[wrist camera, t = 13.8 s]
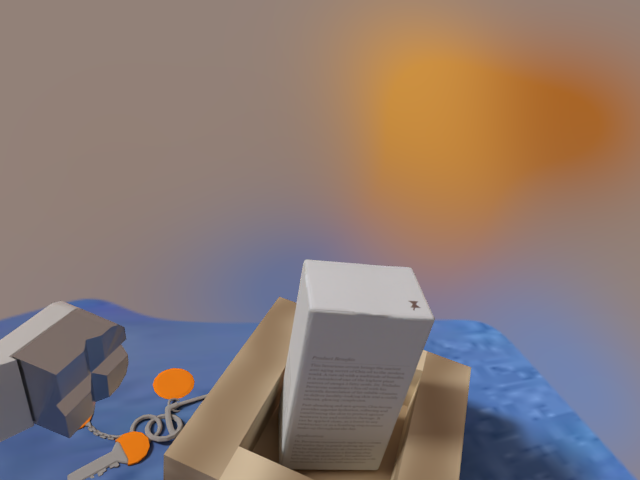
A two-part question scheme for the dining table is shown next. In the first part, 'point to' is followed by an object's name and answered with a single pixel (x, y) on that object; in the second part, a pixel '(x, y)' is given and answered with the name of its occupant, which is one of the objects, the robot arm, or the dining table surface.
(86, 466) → the key chain
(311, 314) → the skincare box
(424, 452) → the socket block
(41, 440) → the dining table surface
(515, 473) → the dining table surface
